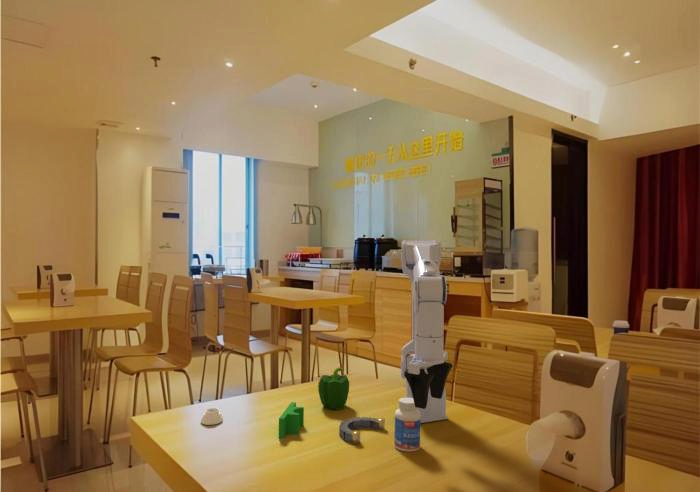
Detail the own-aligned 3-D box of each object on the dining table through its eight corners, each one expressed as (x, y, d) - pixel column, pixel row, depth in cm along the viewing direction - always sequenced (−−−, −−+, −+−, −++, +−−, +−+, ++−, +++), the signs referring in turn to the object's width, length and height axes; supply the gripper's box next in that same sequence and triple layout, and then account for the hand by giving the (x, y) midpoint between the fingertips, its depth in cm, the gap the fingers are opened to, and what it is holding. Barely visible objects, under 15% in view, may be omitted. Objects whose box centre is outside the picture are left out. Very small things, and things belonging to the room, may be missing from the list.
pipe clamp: (295, 440, 100) (295, 419, 100) (278, 439, 101) (278, 418, 101) (306, 421, 111) (306, 402, 112) (291, 420, 112) (291, 401, 112)
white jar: (224, 424, 109) (220, 417, 114) (224, 411, 109) (221, 405, 114) (202, 427, 107) (199, 420, 111) (202, 414, 107) (199, 408, 111)
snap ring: (386, 428, 107) (386, 419, 107) (356, 445, 98) (356, 434, 98) (359, 421, 111) (359, 411, 112) (328, 436, 102) (329, 426, 102)
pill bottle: (403, 454, 93) (404, 405, 93) (389, 444, 98) (389, 398, 98) (425, 449, 96) (426, 402, 96) (410, 439, 101) (411, 394, 101)
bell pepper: (327, 414, 116) (327, 374, 116) (313, 404, 123) (313, 367, 123) (356, 409, 120) (356, 370, 120) (340, 400, 127) (341, 363, 127)
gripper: (426, 328, 102) (425, 390, 102) (394, 338, 90) (394, 408, 90) (456, 332, 98) (456, 396, 98) (427, 342, 86) (427, 415, 86)
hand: (428, 402), depth 94 cm, fingers open, 7 cm apart
